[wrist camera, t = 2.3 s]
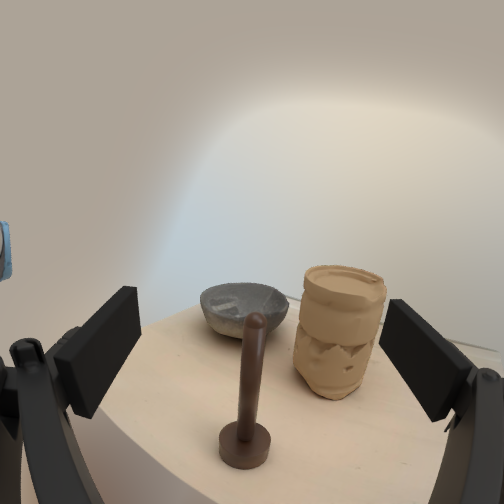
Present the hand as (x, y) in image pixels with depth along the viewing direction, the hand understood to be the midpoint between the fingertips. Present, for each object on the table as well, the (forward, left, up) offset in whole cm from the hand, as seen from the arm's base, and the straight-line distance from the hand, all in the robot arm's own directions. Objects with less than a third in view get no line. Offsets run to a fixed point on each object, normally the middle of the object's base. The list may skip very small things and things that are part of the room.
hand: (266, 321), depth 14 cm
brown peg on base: (-2, +9, -24) cm, 26 cm away
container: (+7, +28, -24) cm, 38 cm away
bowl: (-11, +39, -24) cm, 47 cm away
